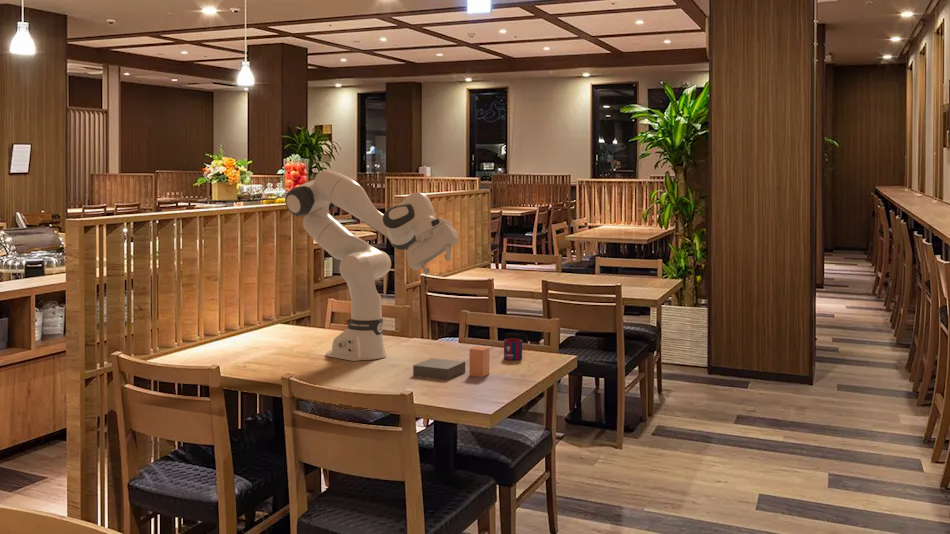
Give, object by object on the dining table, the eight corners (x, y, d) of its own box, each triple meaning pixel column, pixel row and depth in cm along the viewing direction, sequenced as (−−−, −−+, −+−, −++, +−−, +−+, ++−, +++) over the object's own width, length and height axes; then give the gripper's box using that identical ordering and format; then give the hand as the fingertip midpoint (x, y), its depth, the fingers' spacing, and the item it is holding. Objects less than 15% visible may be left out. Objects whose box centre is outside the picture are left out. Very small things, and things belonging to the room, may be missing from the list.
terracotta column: (469, 375, 290) (469, 348, 289) (475, 372, 295) (475, 346, 294) (483, 376, 288) (483, 350, 287) (489, 373, 293) (489, 347, 292)
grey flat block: (413, 377, 289) (413, 365, 289) (431, 369, 301) (431, 358, 301) (447, 381, 284) (447, 369, 283) (465, 373, 296) (465, 361, 295)
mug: (500, 359, 316) (500, 340, 315) (514, 354, 324) (514, 336, 324) (516, 361, 312) (516, 342, 312) (530, 356, 321) (530, 338, 320)
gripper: (399, 246, 299) (408, 279, 292) (444, 215, 291) (455, 248, 284) (411, 251, 304) (420, 284, 297) (455, 221, 296) (466, 254, 289)
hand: (437, 266), depth 290 cm, fingers open, 8 cm apart
